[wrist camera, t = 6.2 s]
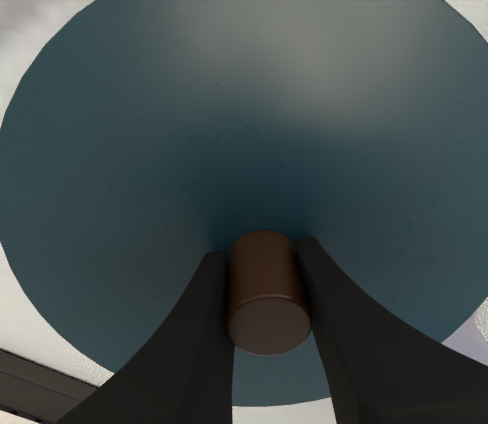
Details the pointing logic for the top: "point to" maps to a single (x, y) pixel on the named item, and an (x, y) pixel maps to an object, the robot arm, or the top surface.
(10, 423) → the laptop
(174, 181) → the lid
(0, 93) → the top surface
